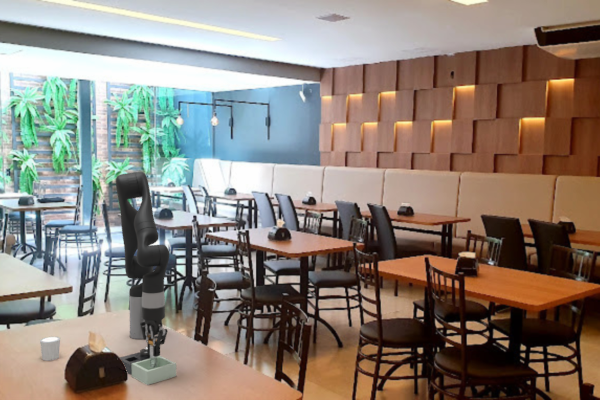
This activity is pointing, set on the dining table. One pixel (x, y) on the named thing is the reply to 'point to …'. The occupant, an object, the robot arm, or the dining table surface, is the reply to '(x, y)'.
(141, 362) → the parts tray
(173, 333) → the dining table surface
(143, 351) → the dark grey holder block
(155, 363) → the lock pin
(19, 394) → the dining table surface
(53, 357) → the white ribbed cylinder
